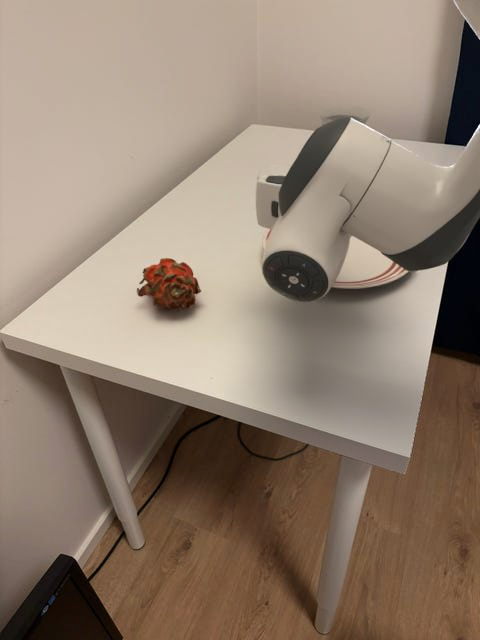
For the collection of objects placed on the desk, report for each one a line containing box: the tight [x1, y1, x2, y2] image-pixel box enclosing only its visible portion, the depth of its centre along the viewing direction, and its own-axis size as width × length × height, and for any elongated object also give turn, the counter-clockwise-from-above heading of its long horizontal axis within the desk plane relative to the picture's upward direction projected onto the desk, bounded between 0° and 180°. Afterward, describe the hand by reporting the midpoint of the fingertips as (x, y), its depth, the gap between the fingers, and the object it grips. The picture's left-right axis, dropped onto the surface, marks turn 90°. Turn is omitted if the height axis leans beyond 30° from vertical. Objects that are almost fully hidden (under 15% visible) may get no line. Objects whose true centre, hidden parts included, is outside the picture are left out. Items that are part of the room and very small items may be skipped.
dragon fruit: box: [136, 257, 202, 311], centre depth 78 cm, size 8×8×12 cm
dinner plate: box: [261, 228, 410, 290], centre depth 88 cm, size 27×27×3 cm
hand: (339, 168), depth 70 cm, fingers closed on chalice, 5 cm apart
